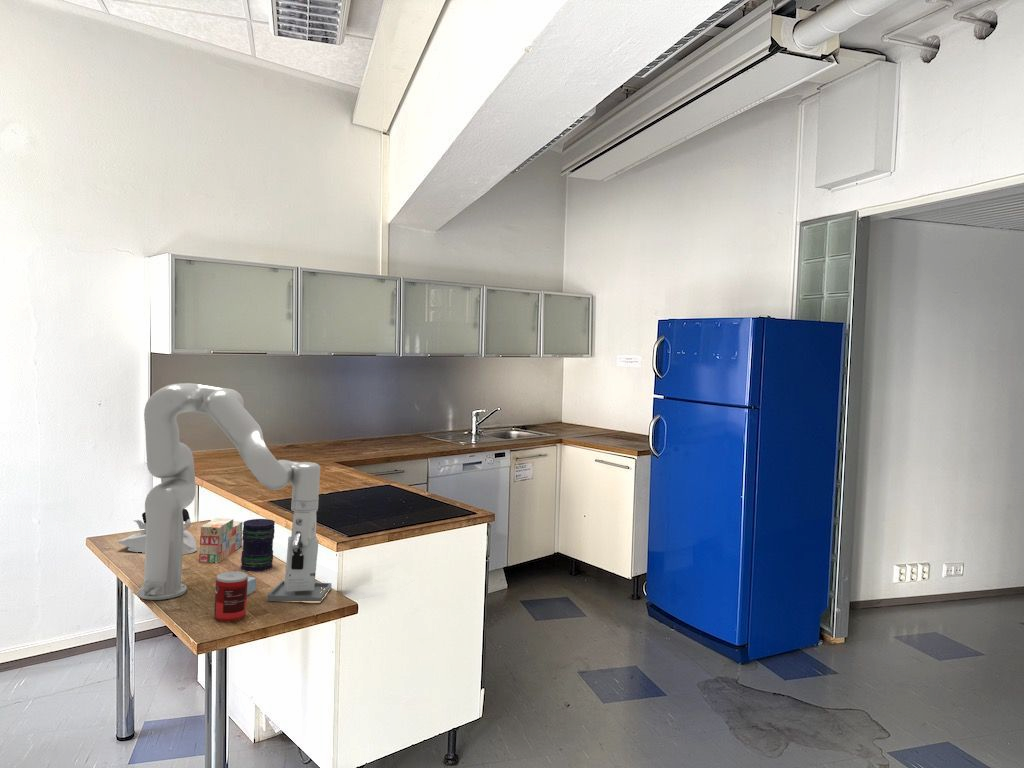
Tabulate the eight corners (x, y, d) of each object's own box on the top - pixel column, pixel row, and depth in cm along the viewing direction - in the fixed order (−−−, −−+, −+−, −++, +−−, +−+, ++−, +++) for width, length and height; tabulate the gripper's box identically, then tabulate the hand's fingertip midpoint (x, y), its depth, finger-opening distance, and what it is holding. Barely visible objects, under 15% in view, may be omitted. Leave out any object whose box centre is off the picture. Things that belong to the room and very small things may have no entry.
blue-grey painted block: (255, 591, 197) (256, 577, 197) (247, 595, 193) (248, 581, 193) (231, 587, 199) (232, 574, 199) (223, 591, 195) (223, 578, 195)
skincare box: (285, 592, 191) (288, 541, 191) (283, 585, 197) (287, 535, 196) (315, 590, 194) (318, 540, 194) (313, 583, 200) (316, 534, 200)
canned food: (227, 609, 181) (229, 569, 181) (252, 614, 179) (254, 573, 179) (207, 619, 174) (209, 577, 173) (232, 624, 171) (234, 581, 171)
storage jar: (275, 570, 217) (278, 524, 217) (243, 573, 212) (246, 526, 212) (269, 561, 226) (271, 517, 225) (238, 564, 221) (240, 519, 220)
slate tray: (320, 604, 189) (320, 597, 189) (266, 601, 189) (267, 595, 189) (331, 589, 202) (331, 583, 202) (281, 586, 202) (281, 580, 202)
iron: (134, 544, 237) (136, 502, 237) (203, 547, 238) (205, 506, 237) (117, 552, 226) (119, 508, 226) (189, 556, 227) (191, 512, 227)
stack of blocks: (224, 545, 242) (226, 512, 242) (242, 546, 242) (243, 513, 242) (198, 562, 221) (200, 525, 220) (217, 563, 221) (219, 526, 221)
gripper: (309, 512, 187) (305, 574, 187) (325, 500, 204) (321, 557, 204) (282, 510, 186) (278, 573, 187) (300, 498, 204) (296, 556, 204)
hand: (301, 564), depth 195 cm, fingers closed on skincare box, 7 cm apart
